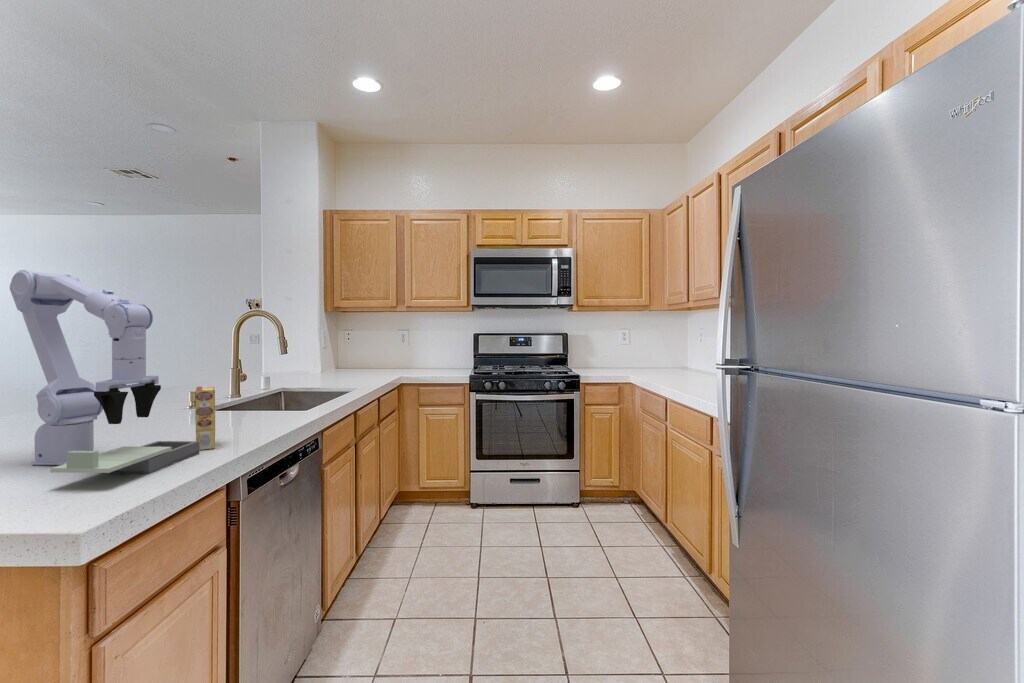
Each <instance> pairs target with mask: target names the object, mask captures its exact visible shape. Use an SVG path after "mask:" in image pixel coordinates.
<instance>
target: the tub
mask: <svg viewBox="0 0 1024 683" xmlns="http://www.w3.org/2000/svg"><path fill="white" fill-rule="evenodd" d="M139 447H172V450H171V451H169V452H166V453H163V454H160V455H157V456H154V457H152V458H149V459H146V460H143V461H140V462H138V463H135V464H132V465H129V466H126V467H124V468H121V469H118V470H115V471H112V472H110V473H109V474H135V475H136V473H137V475H138V474H140V473H141V474H146V475H147V474H148V475H149V474H151V473H153V472H156V471H159V470H161V469H163V468H167V467H168V466H171V465H174V464H176V463H179V462H182V461H184V460H186V459H190V458H191V457H194V456H197V455H200V450H199V441H196V440H195V441H193V440H185V441H183V440H156V441H154V442H151V443H148V444H144V445H140V446H139Z"/></svg>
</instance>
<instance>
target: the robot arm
mask: <svg viewBox="0 0 1024 683" xmlns="http://www.w3.org/2000/svg"><path fill="white" fill-rule="evenodd" d="M9 291H10V294H11V296H12V299H13V301H14V304H15V307H16V309H17V311H19V312H20V313H21V314H22V317H23V321H24V324H25V326H26V328H27V332H28V334H29V337H30V339H31V341H32V345H33V348H34V350H35V353H36V355H37V356H36V357H37V358H38V361H39V364H40V367H41V369H42V372H43V374H44V376H45V380H46V383H47V385H45V386H44V387H43V388H41V389H40V390H39V391H38V393H37V394H36V395H35V397H36V401H37V414H38V417H39V419H41V420H42V421H43V422H44V423H43V424H41V425H40V426H39V427H38V428H37V429H36V430H35V434H34V461H33V462H30V465H32V466H46V465H47V466H60V465H63V464H67V460H66V452H70V451H95V450H94V448H95V446H94V445H95V444H94V440H95V437H94V435H95V433H94V429H95V428H94V426H95V425H94V424H95V423H94V422H95V421H96V420H98V416H99V415H101V414H102V412H104V414H105V415H104V416H106V420H107V423H108V425H119V424H122V421H123V411H124V405H125V402H126V399H127V396H128V394H129V392H128V391H121V389H128V388H130V390H131V392H132V396H133V398H134V403H135V414H136V417H137V418H149V416H150V413H151V409H152V407H153V403H154V401H155V399H156V397H157V395H158V394H159V392H160V391H161V389H162V386H161V385H160V384H159V375H147V371H146V370H147V330H148V329H150V328H151V326H152V324H153V321H154V316H153V315H154V314H153V312H152V309H150V307H148V306H147V305H146V304H142V303H141V304H140V303H139V304H133V303H131V302H130V300H129V299H127V298H125V297H124V298H123V297H122V298H121V297H120V296H117V295H115V294H114V293H115V291H113V290H111V289H101V290H100V289H99V290H94V289H92V288H91V287H89V286H87V285H86V284H84V283H83V282H81V281H80V279H79V277H75V276H73V275H71V274H58V273H48V272H39V271H31V270H27V269H20V270H18V271H17V272H16V273H15V274H14V275H13V276H12V278H11V281H10V284H9ZM74 301H76V302H79V303H80V304H83V307H84V309H85V311H87V313H89V314H92V315H94V316H95V317H98V318H99V319H102V320H103V321H104V323H105V325H106V327H107V329H108V335H109V338H111V379H107V380H102V381H95V384H94V383H93V382H90V381H89V380H86V379H84V378H82V377H80V375H79V373H78V371H77V368H76V365H75V362H74V360H73V357H72V355H71V354H72V353H71V351H70V348H69V346H68V344H67V341H66V338H65V335H64V333H63V330H62V328H61V325H60V323H59V319H58V315H61V314H63V313H66V311H67V310H68V309H69V308H70V306H71V305H72V303H73V302H74Z"/></svg>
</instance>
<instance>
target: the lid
mask: <svg viewBox="0 0 1024 683" xmlns="http://www.w3.org/2000/svg"><path fill="white" fill-rule="evenodd" d="M171 450H172V447H140V446H132V445H131V446H127V445H126V446H125V445H123V446H120V447H117V448H113V449H110V450H107V451H104V452H100V453H99V450H94V451H70V452H66V460H67V464H63V465H56V466H53V467H51V468H50V473H55V474H57V473H58V474H59V473H60V474H61V473H63V474H64V473H66V474H67V473H68V474H71V473H74V474H75V473H76V474H78V473H79V474H80V473H81V474H83V473H85V474H86V473H87V474H88V473H89V474H90V473H91V474H95V473H96V474H111V473H110V472H112V471H115V470H118V469H121V468H124V467H126V466H129V465H132V464H135V463H138V462H140V461H143V460H146V459H149V458H152V457H154V456H157V455H160V454H163V453H166V452H169V451H171Z"/></svg>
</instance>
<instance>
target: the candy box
mask: <svg viewBox="0 0 1024 683" xmlns="http://www.w3.org/2000/svg"><path fill="white" fill-rule="evenodd" d="M215 392H216V391H215V385H209V386H208V385H207V386H205V385H204V386H196V389H195V403H194V404H195V441H199V451H204V450H213V449H215V447H216V396H215V395H216V394H215Z"/></svg>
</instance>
